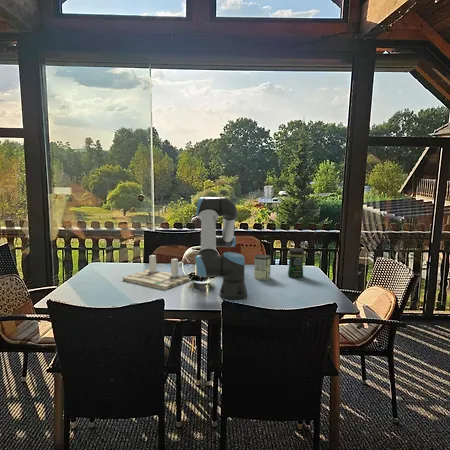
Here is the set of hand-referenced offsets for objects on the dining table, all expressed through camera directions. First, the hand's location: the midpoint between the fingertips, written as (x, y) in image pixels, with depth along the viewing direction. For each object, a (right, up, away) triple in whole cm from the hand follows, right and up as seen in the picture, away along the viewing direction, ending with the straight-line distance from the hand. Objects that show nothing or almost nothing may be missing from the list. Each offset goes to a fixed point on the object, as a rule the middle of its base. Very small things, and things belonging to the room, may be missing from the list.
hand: (178, 265), depth 248 cm
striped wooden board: (-13, -9, -2) cm, 16 cm away
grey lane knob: (-17, -5, +7) cm, 19 cm away
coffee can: (+53, -9, +6) cm, 54 cm away
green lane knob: (-2, -7, -2) cm, 8 cm away
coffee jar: (+75, -9, +10) cm, 76 cm away
